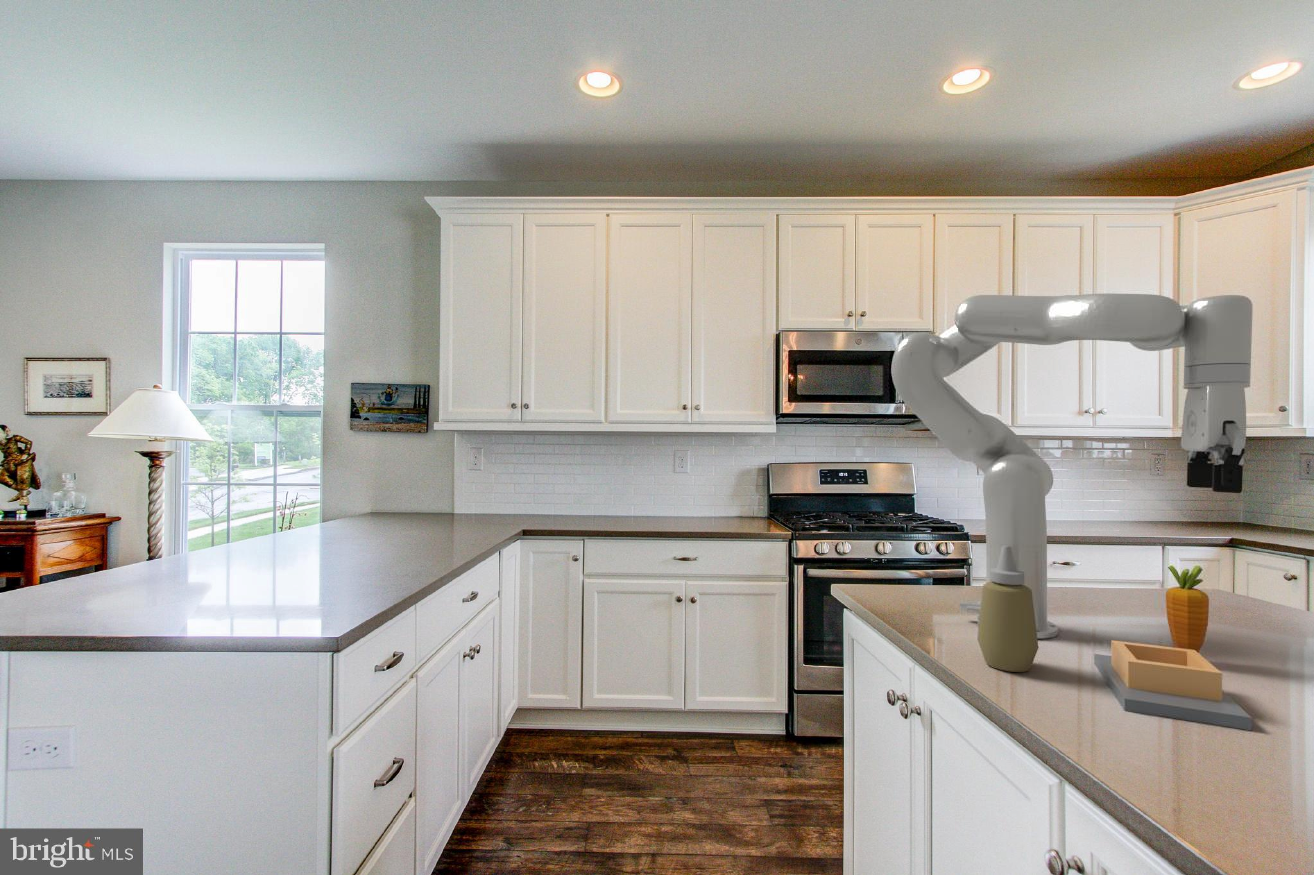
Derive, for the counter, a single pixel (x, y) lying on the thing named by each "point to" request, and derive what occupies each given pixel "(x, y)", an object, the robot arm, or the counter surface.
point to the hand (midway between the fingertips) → (1212, 489)
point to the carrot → (1187, 610)
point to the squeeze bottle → (1007, 618)
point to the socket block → (1169, 684)
